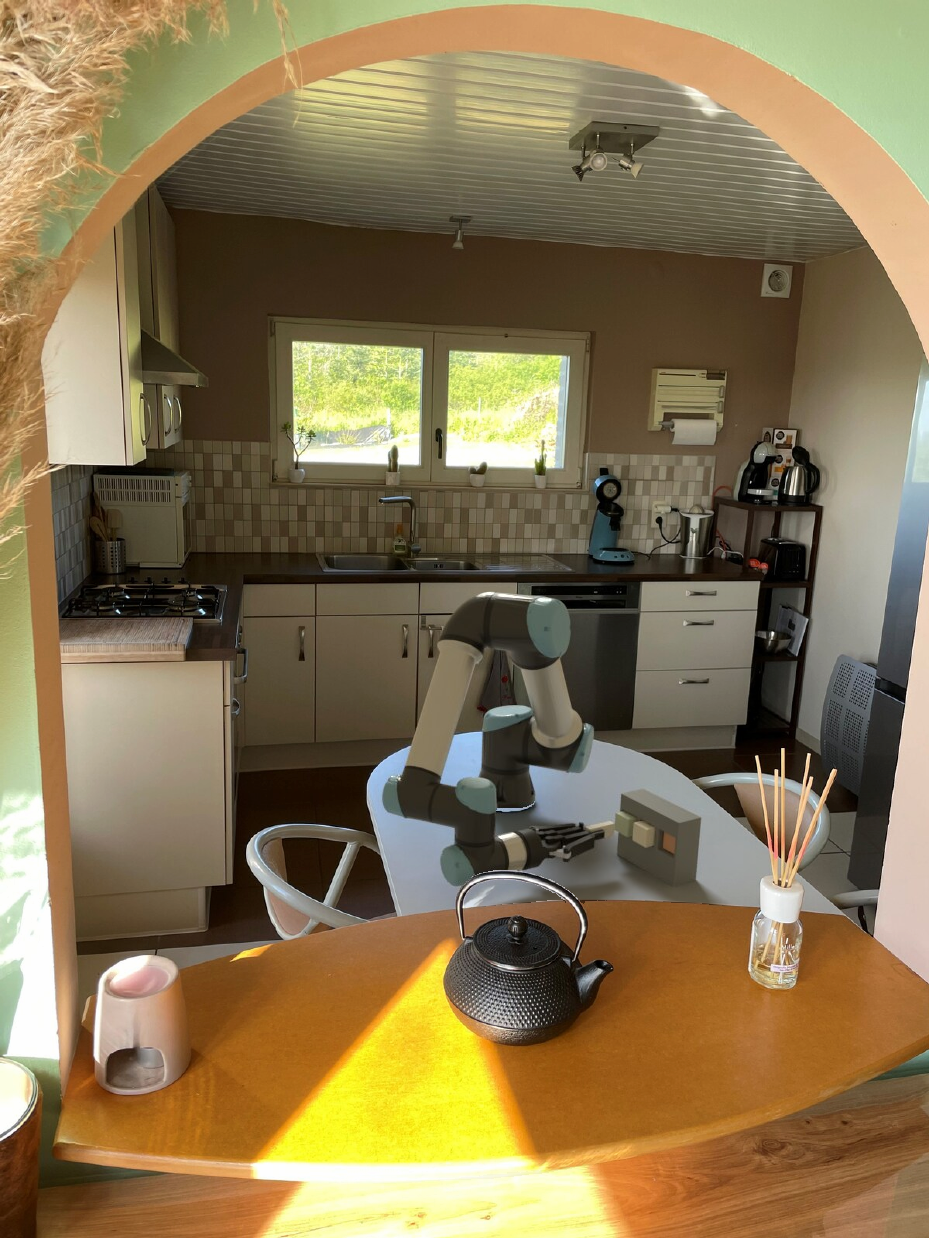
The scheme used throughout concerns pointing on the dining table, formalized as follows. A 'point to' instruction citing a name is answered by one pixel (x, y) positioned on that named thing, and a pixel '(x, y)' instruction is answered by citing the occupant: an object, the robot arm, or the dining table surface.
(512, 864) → the robot arm
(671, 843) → the terracotta key
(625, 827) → the sage key
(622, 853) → the keypad
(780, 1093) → the dining table surface
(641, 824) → the cream key
